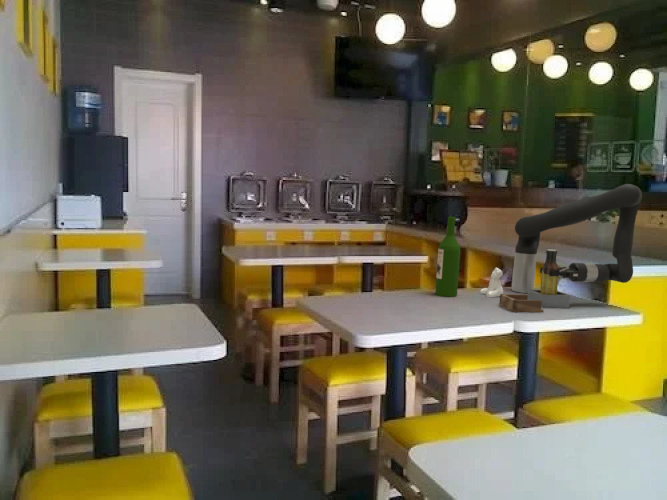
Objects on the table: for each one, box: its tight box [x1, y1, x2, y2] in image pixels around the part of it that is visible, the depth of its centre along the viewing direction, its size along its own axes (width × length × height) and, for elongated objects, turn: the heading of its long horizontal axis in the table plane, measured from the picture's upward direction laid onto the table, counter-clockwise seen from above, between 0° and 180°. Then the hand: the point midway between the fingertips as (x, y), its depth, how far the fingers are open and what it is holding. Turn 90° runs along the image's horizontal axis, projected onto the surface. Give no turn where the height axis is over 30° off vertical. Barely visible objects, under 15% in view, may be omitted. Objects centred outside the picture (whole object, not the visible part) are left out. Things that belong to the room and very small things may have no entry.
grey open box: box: [527, 289, 571, 309], centre depth 247 cm, size 11×12×5 cm
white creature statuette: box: [480, 267, 504, 298], centre depth 261 cm, size 10×9×12 cm
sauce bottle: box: [540, 248, 559, 295], centre depth 246 cm, size 6×6×20 cm
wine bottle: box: [434, 216, 461, 298], centre depth 255 cm, size 9×9×32 cm
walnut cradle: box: [498, 293, 544, 313], centre depth 236 cm, size 12×12×4 cm
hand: (545, 271), depth 245 cm, fingers closed on sauce bottle, 6 cm apart
